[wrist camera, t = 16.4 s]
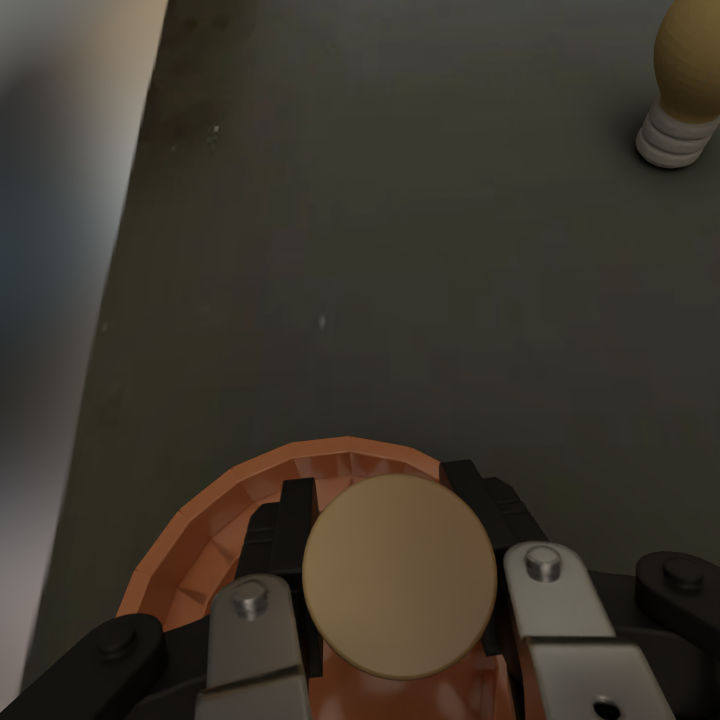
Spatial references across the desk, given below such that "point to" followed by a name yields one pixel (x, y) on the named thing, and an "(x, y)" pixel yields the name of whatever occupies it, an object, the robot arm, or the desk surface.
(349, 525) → the stick
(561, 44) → the desk surface
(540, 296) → the desk surface
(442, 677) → the bowl
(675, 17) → the light bulb
